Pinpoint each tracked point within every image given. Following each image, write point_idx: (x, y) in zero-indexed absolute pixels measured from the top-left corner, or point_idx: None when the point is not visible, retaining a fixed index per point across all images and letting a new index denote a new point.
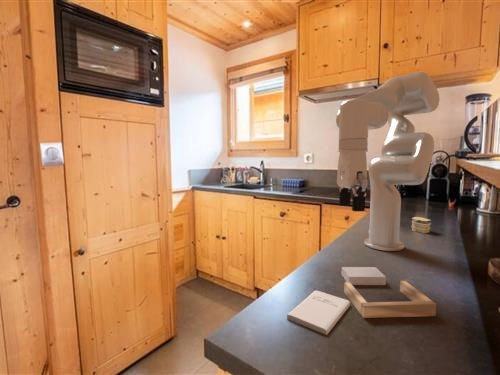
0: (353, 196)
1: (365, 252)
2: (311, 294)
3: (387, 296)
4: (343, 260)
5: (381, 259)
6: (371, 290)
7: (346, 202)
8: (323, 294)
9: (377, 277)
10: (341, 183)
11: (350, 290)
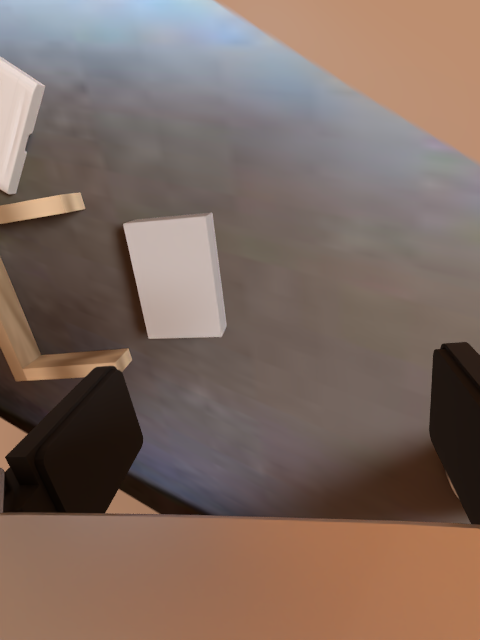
0: (10, 459)
1: None
2: (2, 66)
3: (91, 307)
4: (356, 252)
5: (363, 392)
6: (115, 277)
7: (441, 420)
8: (13, 112)
9: (143, 314)
10: (206, 582)
11: (18, 202)
